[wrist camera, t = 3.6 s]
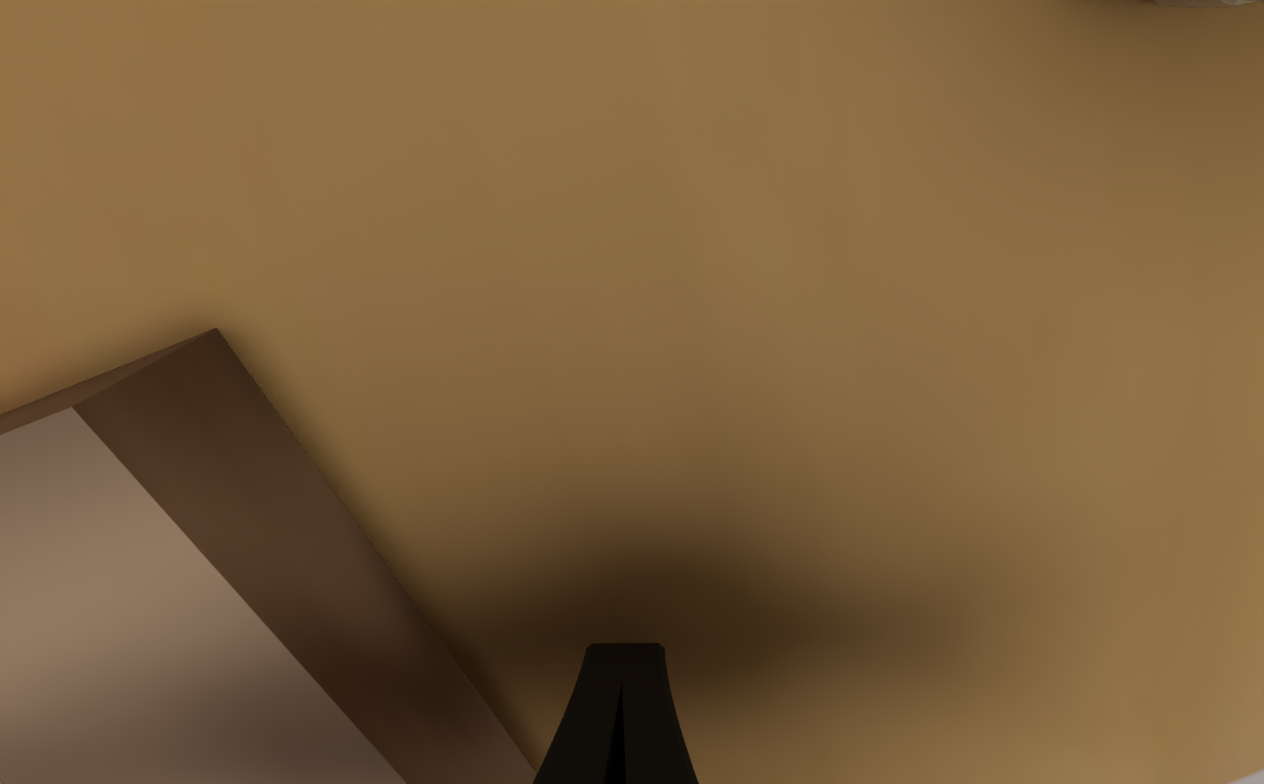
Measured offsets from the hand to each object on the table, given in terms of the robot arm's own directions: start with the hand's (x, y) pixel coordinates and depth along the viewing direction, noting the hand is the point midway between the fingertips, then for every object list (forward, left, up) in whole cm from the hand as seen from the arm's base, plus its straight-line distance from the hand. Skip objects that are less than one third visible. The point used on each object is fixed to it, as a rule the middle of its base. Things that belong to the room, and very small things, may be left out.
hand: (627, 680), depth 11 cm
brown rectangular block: (0, +8, -1) cm, 8 cm away
